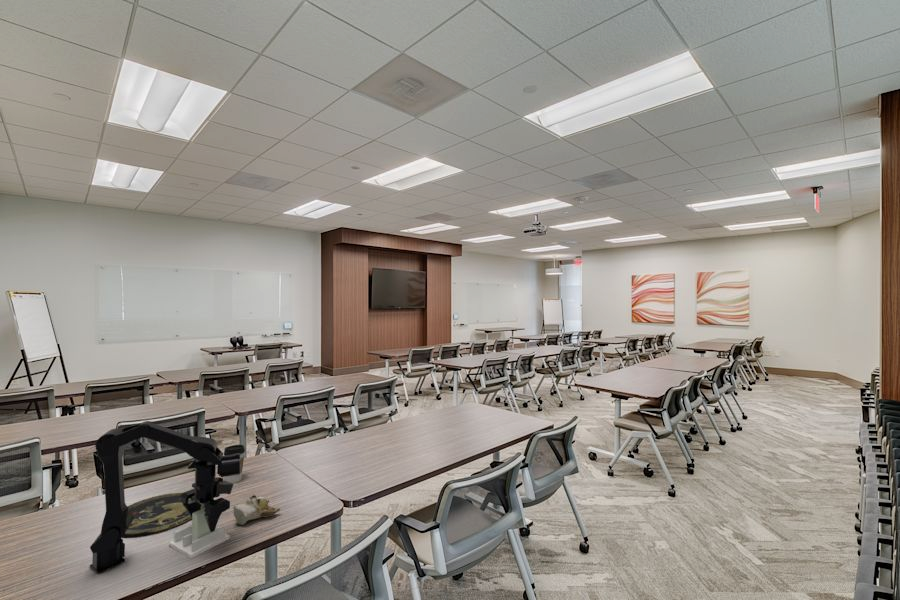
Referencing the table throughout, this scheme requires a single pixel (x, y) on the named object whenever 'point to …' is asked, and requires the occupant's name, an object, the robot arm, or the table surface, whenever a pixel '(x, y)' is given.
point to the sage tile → (199, 525)
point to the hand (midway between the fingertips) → (204, 527)
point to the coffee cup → (241, 450)
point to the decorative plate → (157, 515)
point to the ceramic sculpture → (253, 509)
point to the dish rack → (196, 541)
